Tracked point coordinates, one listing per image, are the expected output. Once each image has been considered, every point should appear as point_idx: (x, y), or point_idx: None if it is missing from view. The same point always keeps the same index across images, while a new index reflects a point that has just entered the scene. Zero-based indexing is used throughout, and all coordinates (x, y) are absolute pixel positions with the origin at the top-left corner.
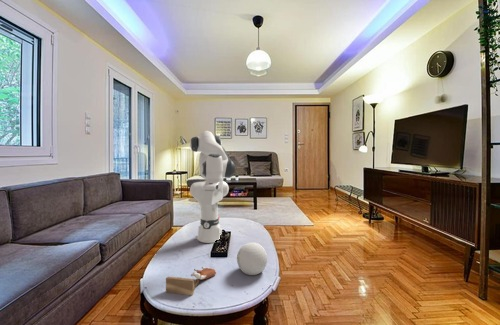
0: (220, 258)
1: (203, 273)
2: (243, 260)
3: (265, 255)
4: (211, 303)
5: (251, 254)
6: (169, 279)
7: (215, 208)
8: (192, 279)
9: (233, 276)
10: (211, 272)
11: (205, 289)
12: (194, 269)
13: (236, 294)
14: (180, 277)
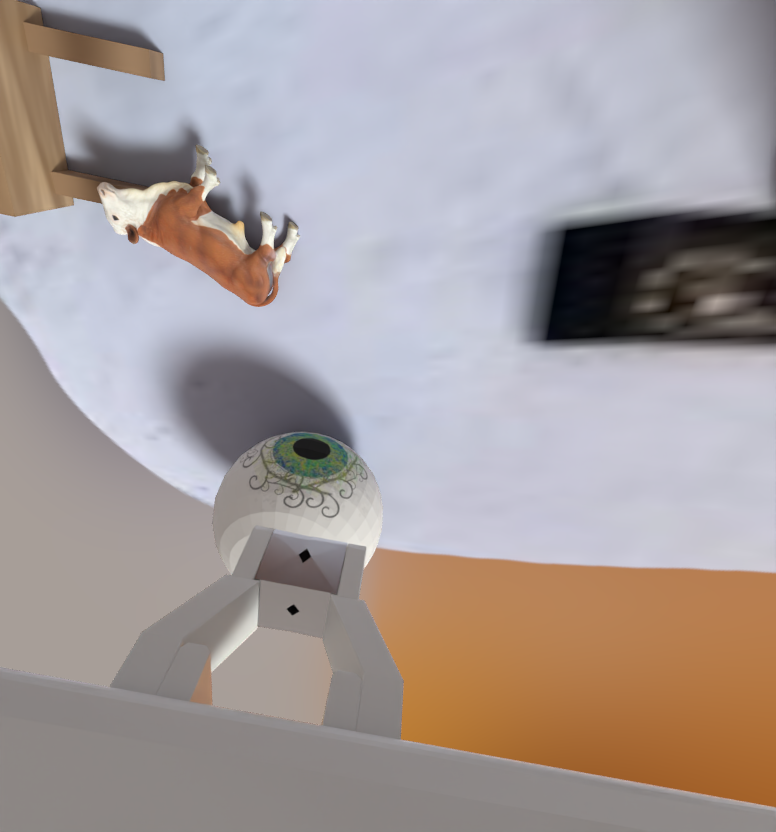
0: (513, 302)
1: (165, 246)
2: (220, 486)
3: None
4: (34, 305)
5: (215, 542)
6: None
7: (262, 619)
8: (6, 206)
9: (278, 386)
10: (223, 286)
11: (126, 260)
12: (205, 168)
13: (132, 400)
14: (150, 66)
